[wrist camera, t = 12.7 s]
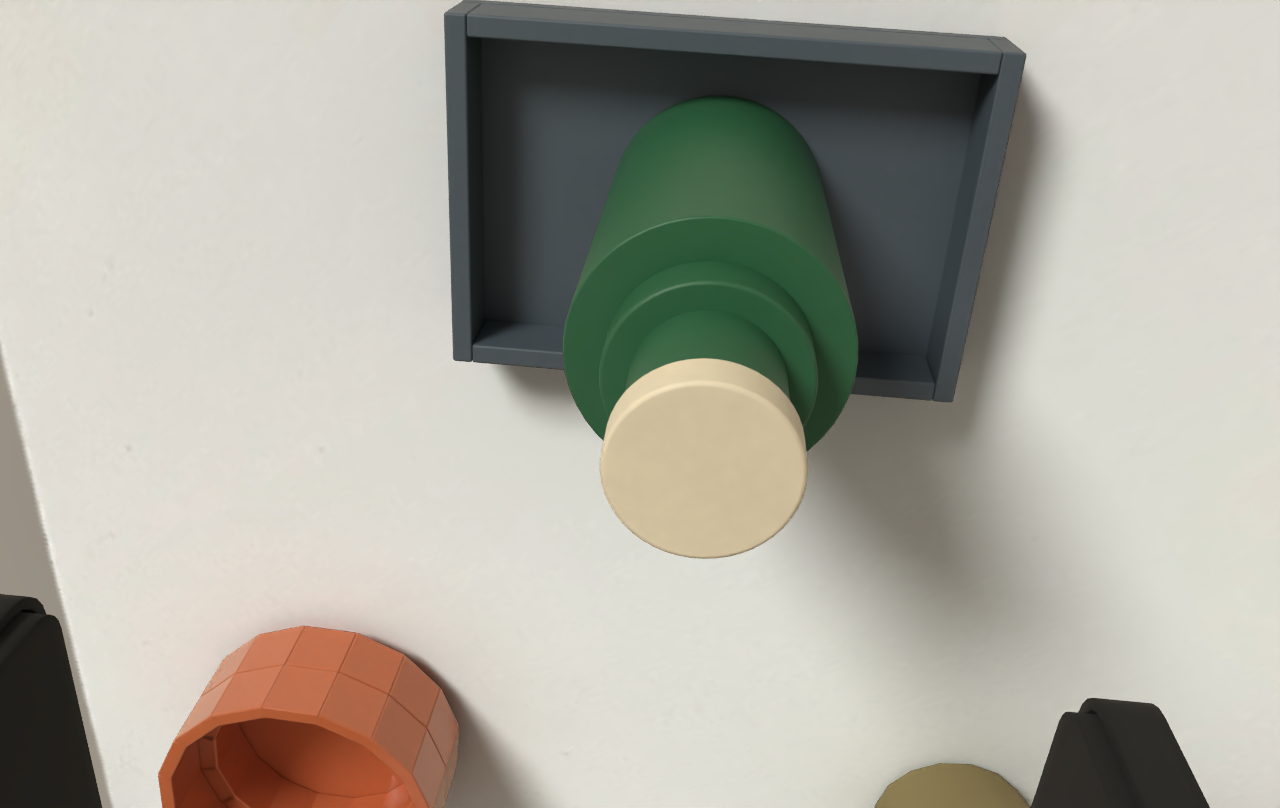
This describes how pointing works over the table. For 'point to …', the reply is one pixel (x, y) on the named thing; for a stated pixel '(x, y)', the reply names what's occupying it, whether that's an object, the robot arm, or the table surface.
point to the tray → (730, 66)
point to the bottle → (711, 328)
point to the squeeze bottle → (951, 789)
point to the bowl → (314, 729)
